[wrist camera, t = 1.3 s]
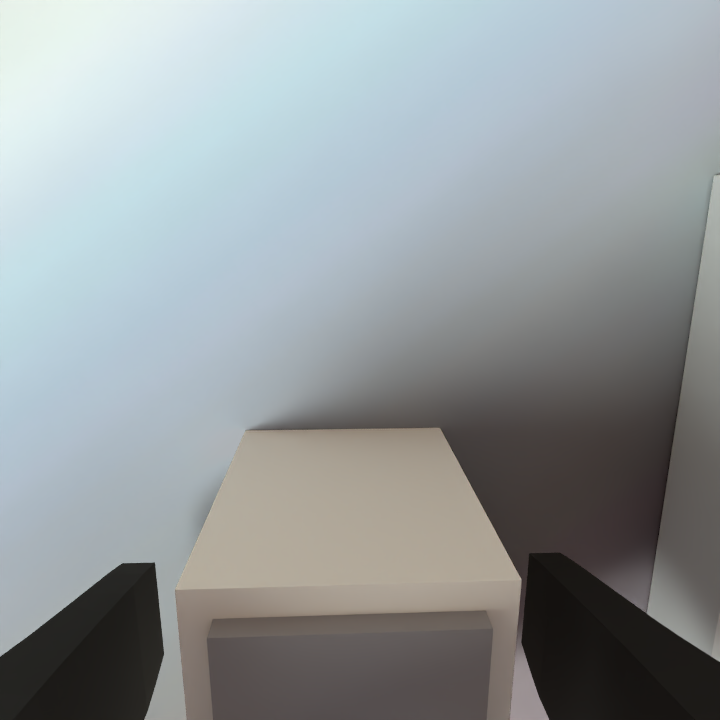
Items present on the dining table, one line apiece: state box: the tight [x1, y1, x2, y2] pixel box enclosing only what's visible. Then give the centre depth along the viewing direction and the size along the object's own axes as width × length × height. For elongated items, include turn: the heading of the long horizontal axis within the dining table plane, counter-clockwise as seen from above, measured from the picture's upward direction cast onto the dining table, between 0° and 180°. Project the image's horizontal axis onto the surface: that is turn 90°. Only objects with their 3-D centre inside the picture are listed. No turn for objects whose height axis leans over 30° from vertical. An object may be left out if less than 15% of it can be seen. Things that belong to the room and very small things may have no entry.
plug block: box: [175, 428, 522, 720], centre depth 9 cm, size 6×4×5 cm, turn 0°
